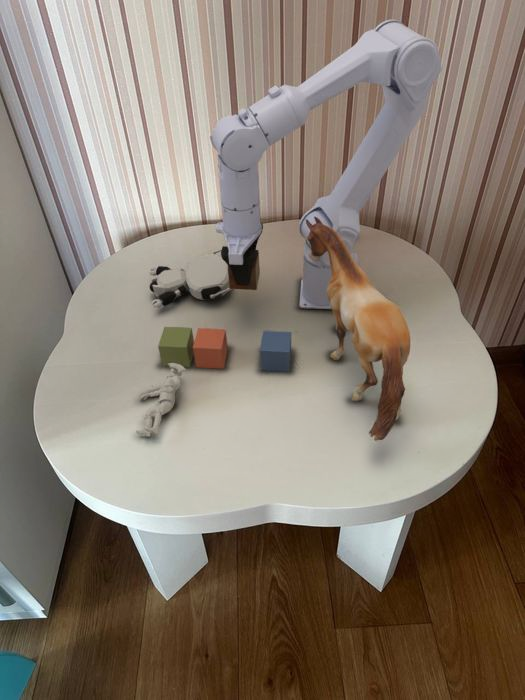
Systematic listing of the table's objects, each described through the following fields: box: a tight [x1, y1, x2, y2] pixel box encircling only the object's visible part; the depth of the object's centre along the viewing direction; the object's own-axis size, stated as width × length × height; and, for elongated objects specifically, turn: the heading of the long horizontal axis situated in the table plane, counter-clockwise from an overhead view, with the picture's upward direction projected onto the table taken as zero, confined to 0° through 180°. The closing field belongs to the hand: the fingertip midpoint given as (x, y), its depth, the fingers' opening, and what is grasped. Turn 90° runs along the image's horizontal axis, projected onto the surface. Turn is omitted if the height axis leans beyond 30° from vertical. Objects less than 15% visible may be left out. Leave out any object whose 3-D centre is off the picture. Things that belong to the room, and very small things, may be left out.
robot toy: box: [148, 248, 232, 309], centre depth 103 cm, size 12×4×15 cm
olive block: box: [157, 326, 195, 368], centre depth 91 cm, size 4×4×4 cm
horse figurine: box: [306, 216, 411, 441], centre depth 80 cm, size 31×8×21 cm, turn 14°
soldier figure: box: [135, 363, 187, 438], centre depth 83 cm, size 8×5×12 cm
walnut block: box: [228, 251, 261, 291], centre depth 93 cm, size 4×4×4 cm
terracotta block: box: [193, 327, 229, 370], centre depth 90 cm, size 4×4×4 cm
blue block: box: [259, 330, 292, 373], centre depth 89 cm, size 4×4×4 cm
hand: (245, 274), depth 93 cm, fingers closed on walnut block, 4 cm apart
